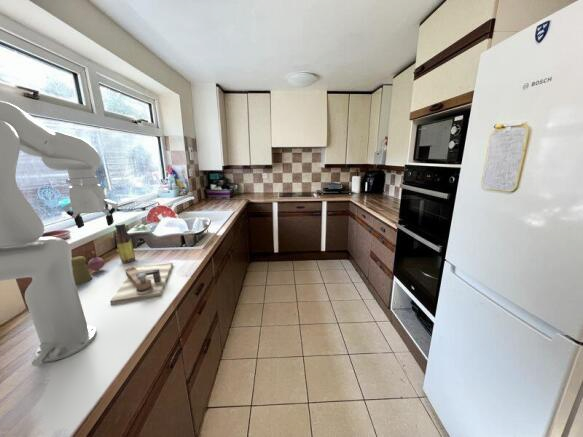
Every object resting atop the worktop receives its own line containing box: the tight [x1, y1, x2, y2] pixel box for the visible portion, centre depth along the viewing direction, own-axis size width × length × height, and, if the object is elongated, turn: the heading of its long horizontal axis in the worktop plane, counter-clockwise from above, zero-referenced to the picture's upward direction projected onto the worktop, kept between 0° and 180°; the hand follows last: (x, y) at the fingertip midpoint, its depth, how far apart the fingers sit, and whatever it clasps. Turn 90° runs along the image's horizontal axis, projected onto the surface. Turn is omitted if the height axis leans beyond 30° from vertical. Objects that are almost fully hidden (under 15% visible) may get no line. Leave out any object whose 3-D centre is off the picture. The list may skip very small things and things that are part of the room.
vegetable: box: [87, 250, 105, 272], centre depth 109 cm, size 6×6×10 cm
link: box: [124, 266, 152, 292], centre depth 95 cm, size 22×5×6 cm, turn 48°
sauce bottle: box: [114, 222, 136, 264], centre depth 118 cm, size 7×6×20 cm
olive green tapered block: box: [72, 255, 93, 285], centre depth 100 cm, size 6×6×11 cm
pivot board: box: [109, 262, 174, 306], centre depth 99 cm, size 28×16×6 cm, turn 18°
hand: (96, 225), depth 92 cm, fingers open, 9 cm apart
